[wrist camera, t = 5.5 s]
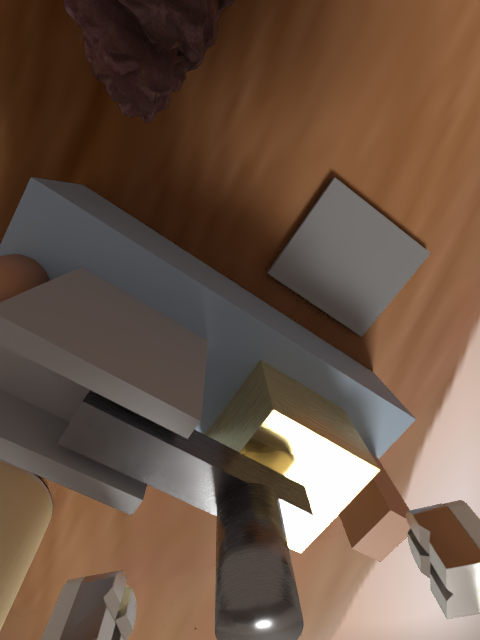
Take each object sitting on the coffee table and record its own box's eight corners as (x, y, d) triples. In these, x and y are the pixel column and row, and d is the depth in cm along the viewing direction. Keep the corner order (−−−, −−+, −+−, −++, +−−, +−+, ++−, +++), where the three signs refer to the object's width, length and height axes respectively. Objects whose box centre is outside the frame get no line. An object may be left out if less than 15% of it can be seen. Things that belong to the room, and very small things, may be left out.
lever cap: (283, 478, 18) (300, 553, 14) (202, 437, 17) (197, 505, 13) (343, 409, 16) (380, 469, 13) (260, 359, 15) (273, 409, 12)
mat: (359, 334, 21) (361, 336, 20) (266, 272, 19) (267, 273, 19) (426, 252, 19) (430, 253, 19) (332, 177, 18) (335, 177, 17)
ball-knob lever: (275, 519, 12) (302, 677, 8) (71, 422, 11) (-24, 561, 6) (308, 482, 12) (355, 630, 8) (101, 374, 10) (17, 491, 6)
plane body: (298, 459, 24) (359, 656, 13) (20, 310, 19) (-214, 432, 9) (373, 372, 22) (512, 524, 11) (83, 184, 17) (-124, 154, 7)
